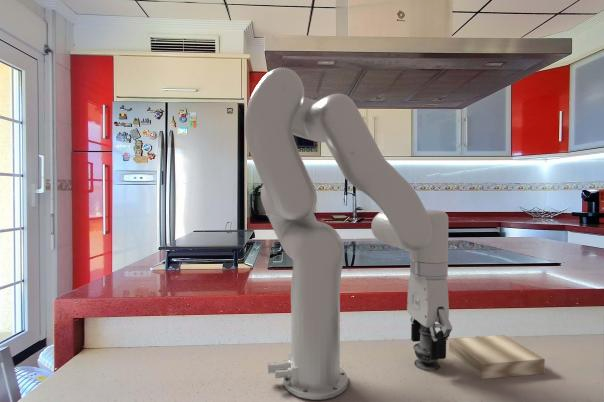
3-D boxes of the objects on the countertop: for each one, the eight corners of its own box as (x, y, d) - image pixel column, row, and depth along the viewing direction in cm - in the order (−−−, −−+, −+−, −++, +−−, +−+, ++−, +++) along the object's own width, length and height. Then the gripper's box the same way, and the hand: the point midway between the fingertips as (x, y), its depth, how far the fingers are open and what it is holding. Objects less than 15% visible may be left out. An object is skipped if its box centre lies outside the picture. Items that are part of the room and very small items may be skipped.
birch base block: (481, 378, 73) (482, 364, 73) (448, 351, 85) (449, 338, 85) (544, 373, 75) (544, 358, 75) (503, 347, 87) (503, 334, 87)
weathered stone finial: (444, 373, 76) (445, 315, 75) (414, 370, 77) (415, 313, 76) (439, 359, 81) (440, 306, 81) (411, 357, 82) (412, 304, 82)
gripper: (395, 260, 86) (394, 334, 87) (432, 279, 69) (431, 371, 70) (425, 259, 87) (424, 331, 88) (469, 278, 70) (468, 368, 71)
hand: (427, 348), depth 79 cm, fingers open, 7 cm apart
